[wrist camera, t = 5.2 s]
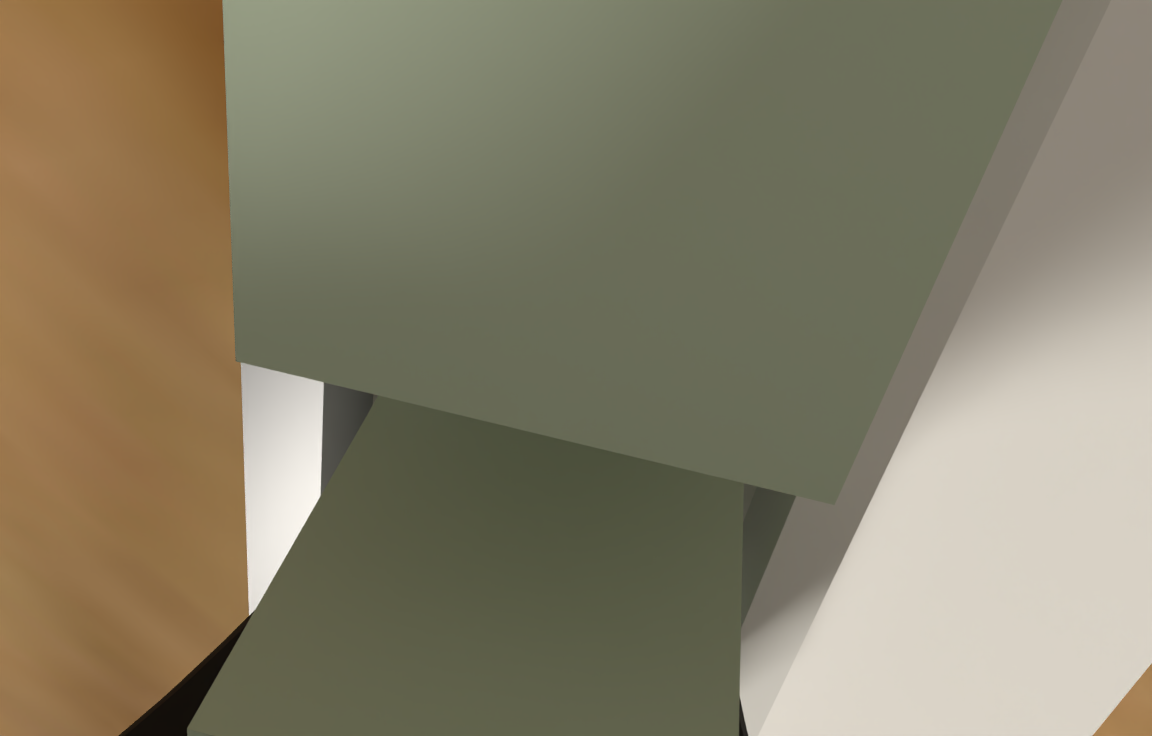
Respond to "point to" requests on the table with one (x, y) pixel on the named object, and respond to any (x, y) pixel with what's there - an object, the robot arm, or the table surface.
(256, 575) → the rail
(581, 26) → the faced carton
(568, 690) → the carton
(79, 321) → the table surface
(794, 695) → the shelf board
